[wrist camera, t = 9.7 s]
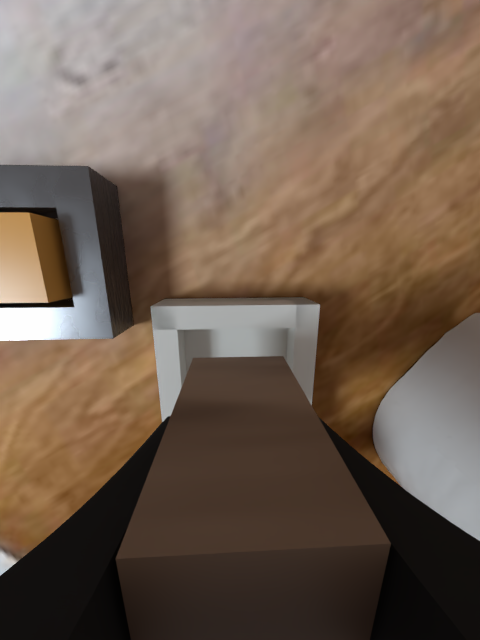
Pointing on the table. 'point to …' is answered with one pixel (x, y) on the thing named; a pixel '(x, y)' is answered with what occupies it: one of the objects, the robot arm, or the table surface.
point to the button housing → (72, 253)
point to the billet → (249, 518)
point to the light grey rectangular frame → (232, 336)
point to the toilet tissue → (438, 427)
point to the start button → (32, 259)
